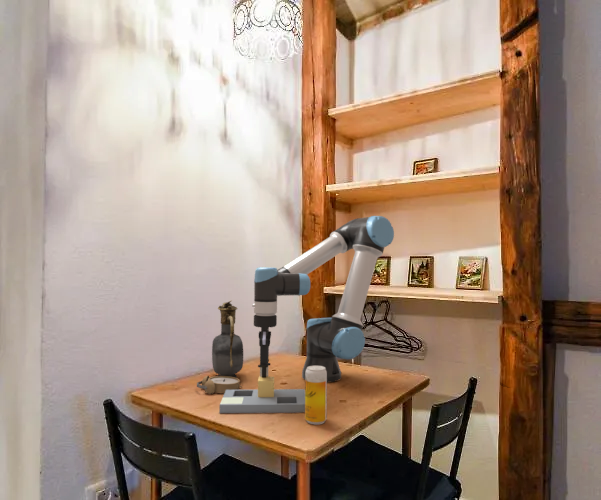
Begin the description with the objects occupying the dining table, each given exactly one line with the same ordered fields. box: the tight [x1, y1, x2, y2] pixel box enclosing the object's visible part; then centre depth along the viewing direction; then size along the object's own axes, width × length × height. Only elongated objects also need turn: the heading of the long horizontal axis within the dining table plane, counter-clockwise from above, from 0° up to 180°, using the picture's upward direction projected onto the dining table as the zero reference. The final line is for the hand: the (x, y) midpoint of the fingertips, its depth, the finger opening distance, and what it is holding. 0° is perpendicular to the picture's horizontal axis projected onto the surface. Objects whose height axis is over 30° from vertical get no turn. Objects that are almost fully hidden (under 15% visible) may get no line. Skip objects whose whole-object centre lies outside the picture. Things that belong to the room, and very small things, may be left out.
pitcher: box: [211, 300, 244, 378], centre depth 162 cm, size 11×19×30 cm, turn 18°
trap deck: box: [218, 388, 305, 414], centre depth 133 cm, size 26×15×2 cm, turn 93°
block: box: [257, 376, 275, 397], centre depth 136 cm, size 5×5×5 cm
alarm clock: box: [196, 375, 243, 395], centre depth 148 cm, size 11×5×15 cm
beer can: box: [304, 366, 328, 426], centre depth 120 cm, size 6×6×15 cm
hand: (263, 386), depth 139 cm, fingers closed
